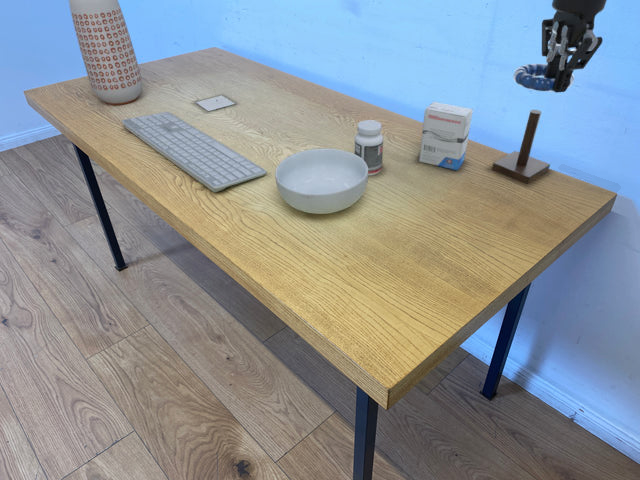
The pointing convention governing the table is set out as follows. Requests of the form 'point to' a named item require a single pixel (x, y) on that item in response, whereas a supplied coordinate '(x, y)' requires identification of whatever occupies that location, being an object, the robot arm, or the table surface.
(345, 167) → the cereal bowl
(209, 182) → the keyboard
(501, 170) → the stand
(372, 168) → the pill bottle
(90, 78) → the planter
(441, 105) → the ink box
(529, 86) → the blue teething ring
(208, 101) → the coaster
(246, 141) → the table surface
